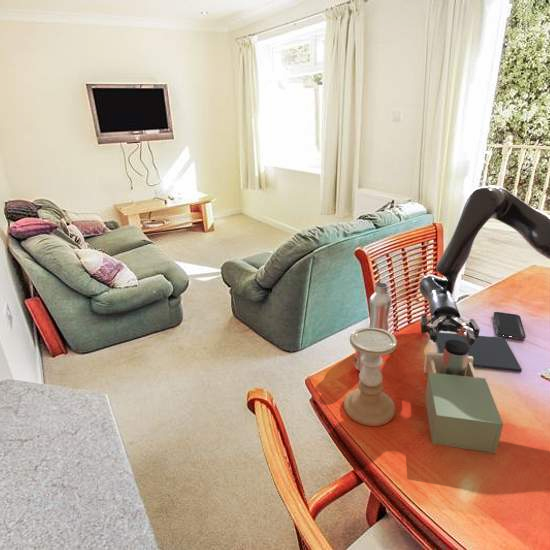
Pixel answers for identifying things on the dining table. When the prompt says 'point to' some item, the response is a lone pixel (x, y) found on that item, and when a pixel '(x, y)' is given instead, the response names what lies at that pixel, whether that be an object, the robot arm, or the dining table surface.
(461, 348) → the canister
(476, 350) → the mat
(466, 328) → the robot arm
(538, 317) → the dining table surface
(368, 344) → the candle holder
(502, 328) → the phone
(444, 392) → the cabinet
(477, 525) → the dining table surface
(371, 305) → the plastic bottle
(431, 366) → the drawer
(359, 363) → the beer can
